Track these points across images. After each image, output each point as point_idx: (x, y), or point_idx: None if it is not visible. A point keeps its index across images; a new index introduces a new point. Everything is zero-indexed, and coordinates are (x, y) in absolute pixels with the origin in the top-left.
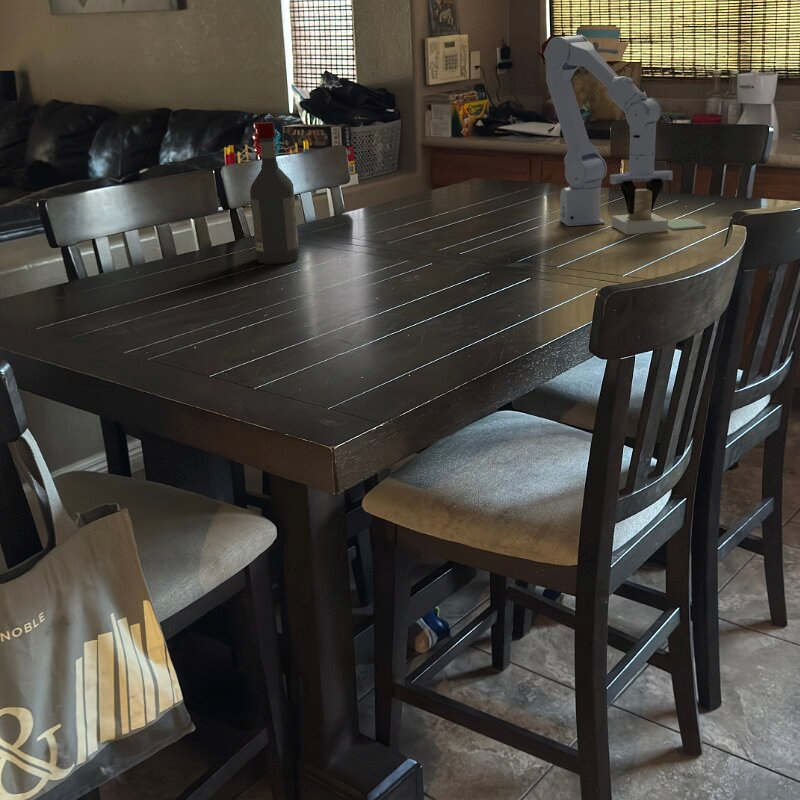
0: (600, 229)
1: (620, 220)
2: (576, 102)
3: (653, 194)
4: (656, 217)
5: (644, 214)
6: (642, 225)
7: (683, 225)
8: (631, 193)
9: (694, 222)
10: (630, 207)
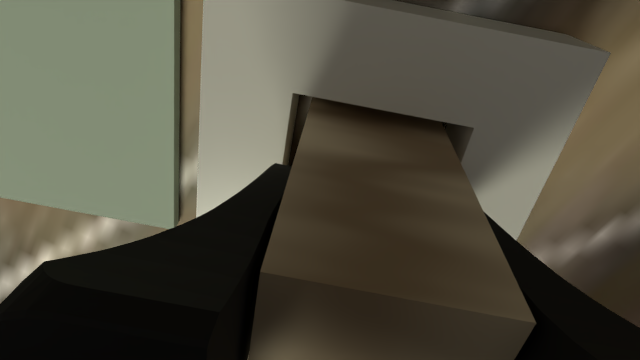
0: (567, 256)
1: (537, 196)
2: None
3: (244, 239)
4: (238, 142)
5: (367, 141)
6: (449, 18)
7: (66, 26)
8: (604, 324)
9: None
10: (501, 229)
